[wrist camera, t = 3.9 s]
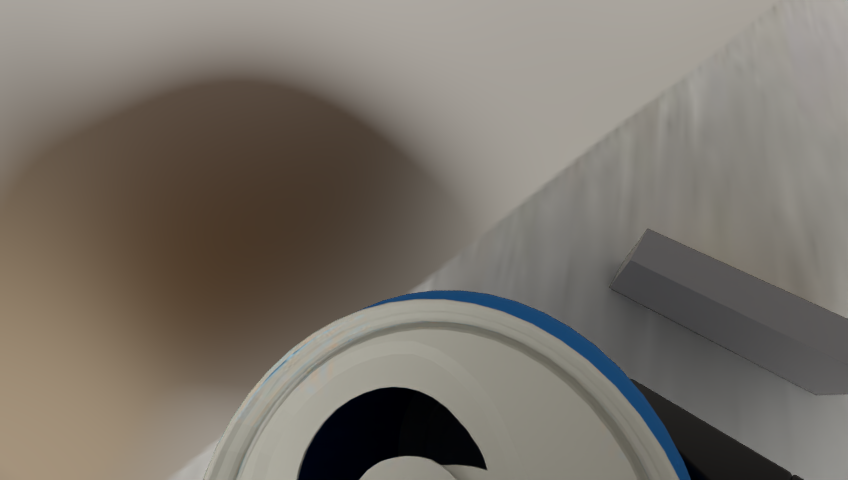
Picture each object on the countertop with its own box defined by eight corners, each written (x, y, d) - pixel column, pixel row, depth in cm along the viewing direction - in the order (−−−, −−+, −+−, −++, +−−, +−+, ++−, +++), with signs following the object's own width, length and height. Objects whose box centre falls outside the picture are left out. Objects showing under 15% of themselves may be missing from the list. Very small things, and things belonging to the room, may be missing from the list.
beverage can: (498, 322, 17) (457, 173, 6) (628, 470, 14) (973, 681, 3) (370, 431, 17) (74, 487, 6) (482, 604, 14) (340, 1341, 3)
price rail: (831, 358, 14) (921, 346, 11) (816, 395, 14) (903, 392, 11) (625, 258, 17) (649, 224, 14) (609, 287, 17) (630, 260, 13)
